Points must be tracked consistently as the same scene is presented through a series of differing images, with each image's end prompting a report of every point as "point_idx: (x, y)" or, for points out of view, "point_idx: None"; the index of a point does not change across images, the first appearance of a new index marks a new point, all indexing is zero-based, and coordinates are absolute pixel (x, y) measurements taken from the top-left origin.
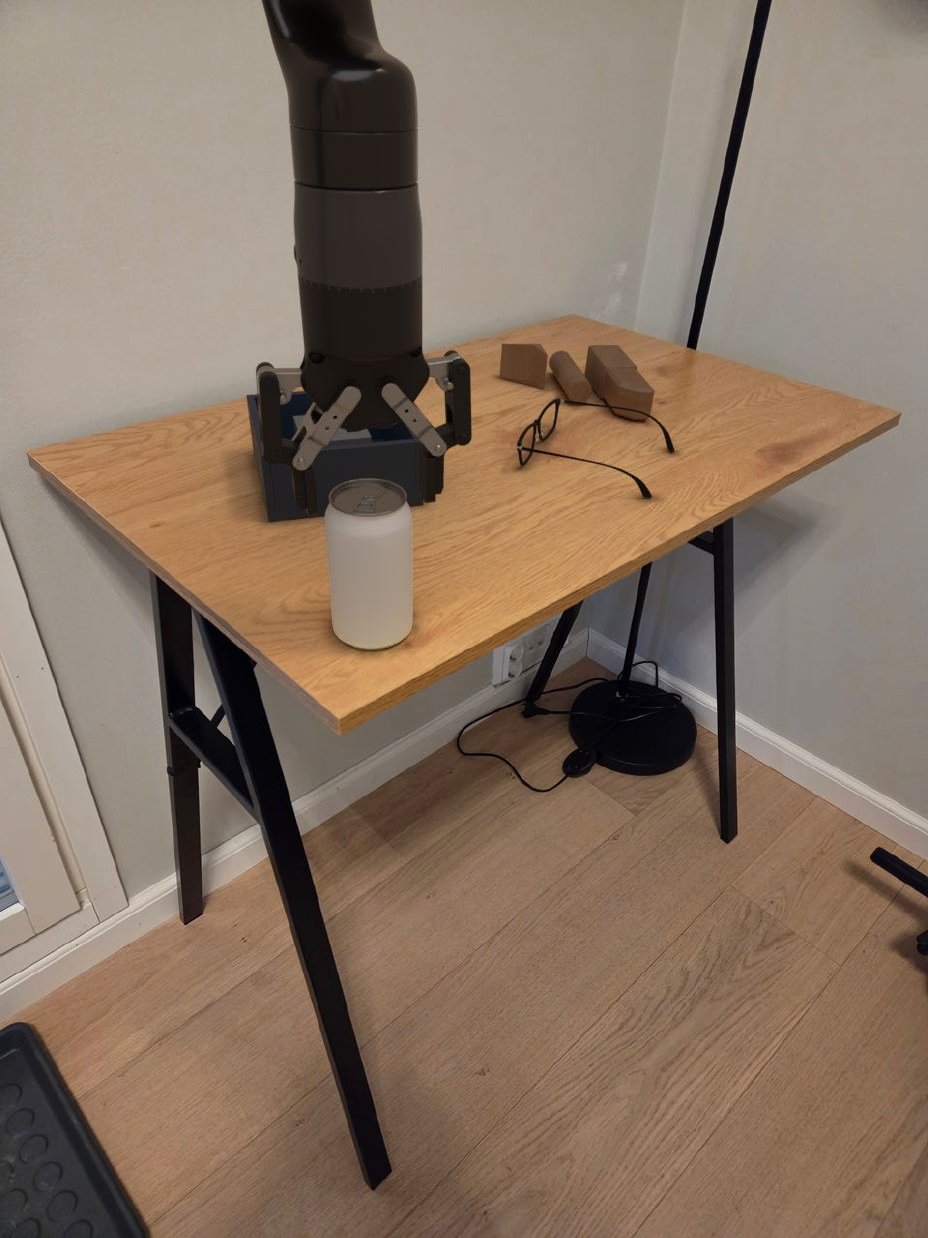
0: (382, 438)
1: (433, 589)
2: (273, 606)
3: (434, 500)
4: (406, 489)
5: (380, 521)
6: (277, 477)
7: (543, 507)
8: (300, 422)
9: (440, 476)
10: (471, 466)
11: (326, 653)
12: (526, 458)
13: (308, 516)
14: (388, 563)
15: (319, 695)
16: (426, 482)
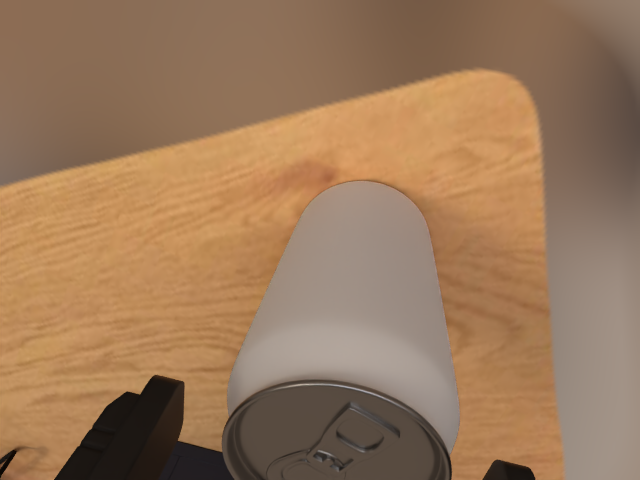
0: None
1: (232, 280)
2: (475, 349)
3: (155, 377)
4: (187, 472)
5: (346, 364)
6: None
7: (10, 368)
8: None
9: (92, 443)
10: None
11: (460, 217)
12: (5, 459)
13: (524, 466)
14: (344, 269)
15: (530, 123)
16: (148, 438)
